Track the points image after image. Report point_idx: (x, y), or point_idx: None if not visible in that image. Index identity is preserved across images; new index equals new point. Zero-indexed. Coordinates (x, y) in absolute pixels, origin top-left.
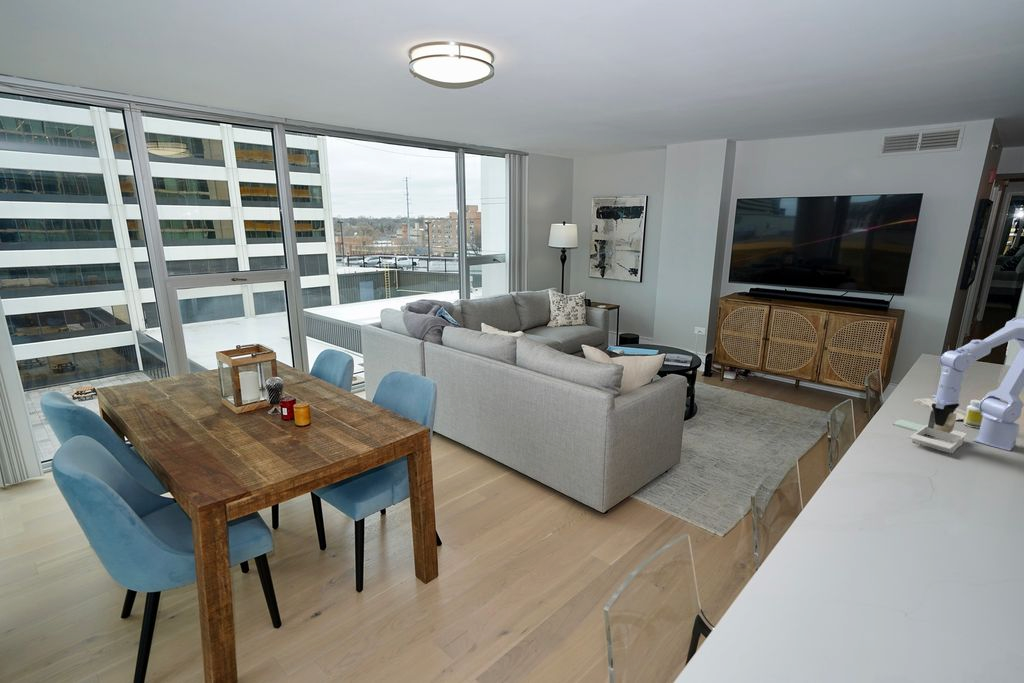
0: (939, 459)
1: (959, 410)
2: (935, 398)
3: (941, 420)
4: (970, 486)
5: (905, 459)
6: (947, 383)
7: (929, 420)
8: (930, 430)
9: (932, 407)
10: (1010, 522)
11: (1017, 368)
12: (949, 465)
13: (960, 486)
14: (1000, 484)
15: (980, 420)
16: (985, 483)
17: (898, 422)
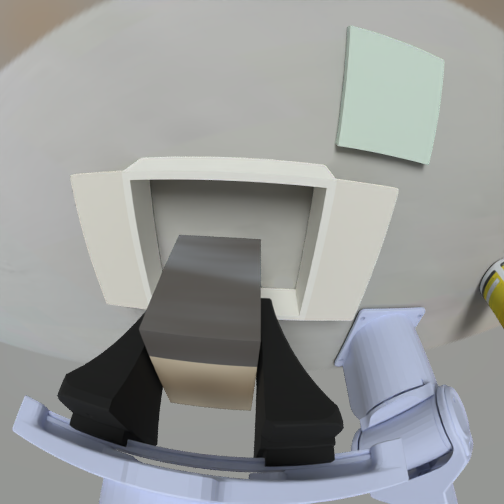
0: (79, 266)
1: None
2: (117, 467)
3: None
4: (33, 318)
5: (4, 207)
6: None
7: (164, 268)
8: (319, 204)
9: (68, 375)
10: (13, 343)
11: None
12: (70, 288)
13: (19, 307)
14: (90, 353)
15: (492, 309)
16: (67, 336)
17: (388, 49)
